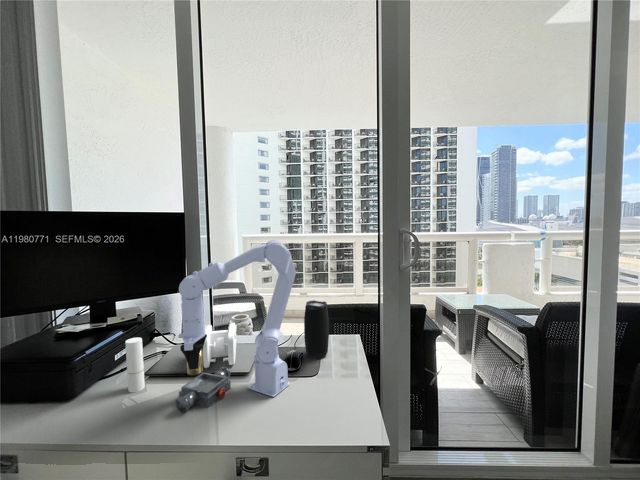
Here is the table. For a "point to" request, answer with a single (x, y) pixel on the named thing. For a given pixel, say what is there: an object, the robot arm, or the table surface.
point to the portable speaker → (316, 329)
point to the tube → (135, 364)
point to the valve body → (204, 390)
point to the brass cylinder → (199, 369)
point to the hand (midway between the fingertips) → (195, 364)
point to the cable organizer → (220, 345)
